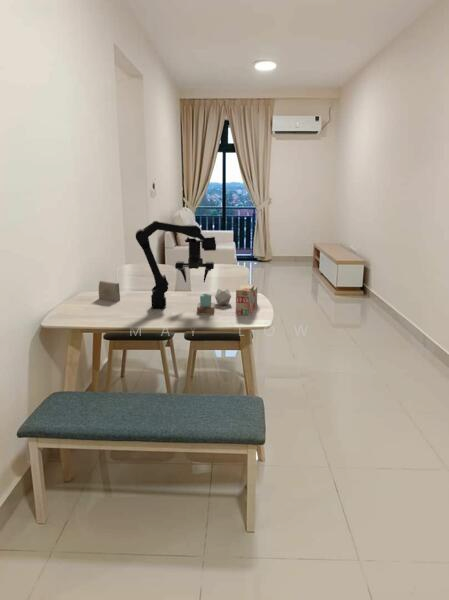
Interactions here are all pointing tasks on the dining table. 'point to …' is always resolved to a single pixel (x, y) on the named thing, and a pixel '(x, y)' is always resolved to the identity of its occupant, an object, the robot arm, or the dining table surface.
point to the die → (223, 296)
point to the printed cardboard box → (246, 299)
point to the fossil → (109, 291)
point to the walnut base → (206, 309)
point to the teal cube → (205, 300)
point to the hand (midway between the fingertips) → (195, 282)
